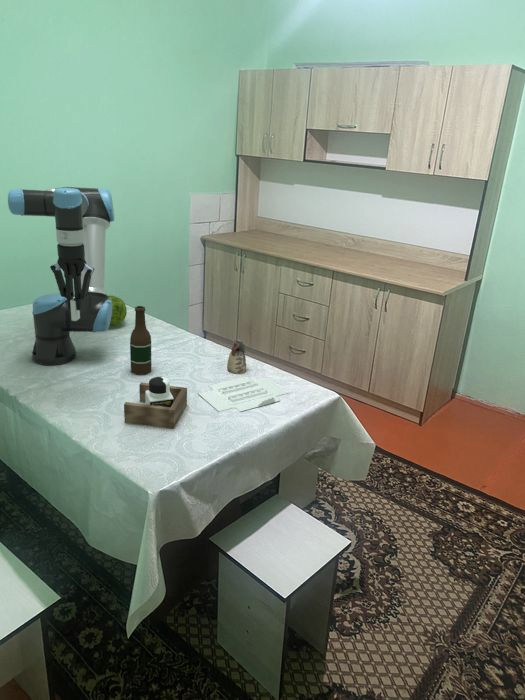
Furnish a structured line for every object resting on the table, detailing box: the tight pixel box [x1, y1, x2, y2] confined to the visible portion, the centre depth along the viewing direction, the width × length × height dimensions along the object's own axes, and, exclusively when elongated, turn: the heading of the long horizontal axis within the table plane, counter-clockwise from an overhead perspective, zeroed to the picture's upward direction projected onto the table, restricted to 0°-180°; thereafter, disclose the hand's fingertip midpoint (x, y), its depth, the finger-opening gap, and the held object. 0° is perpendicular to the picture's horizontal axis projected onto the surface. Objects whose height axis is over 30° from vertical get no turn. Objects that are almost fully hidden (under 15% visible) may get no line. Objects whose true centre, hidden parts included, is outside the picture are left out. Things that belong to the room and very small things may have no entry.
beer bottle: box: [129, 305, 152, 376], centre depth 186 cm, size 8×8×24 cm
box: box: [123, 382, 188, 429], centre depth 163 cm, size 15×15×6 cm
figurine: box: [226, 339, 247, 375], centre depth 195 cm, size 7×7×12 cm
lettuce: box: [108, 294, 128, 328], centre depth 233 cm, size 14×23×13 cm, turn 34°
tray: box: [197, 376, 289, 413], centre depth 180 cm, size 20×28×4 cm
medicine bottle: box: [145, 376, 174, 407], centre depth 161 cm, size 7×7×12 cm
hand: (75, 319), depth 165 cm, fingers closed
